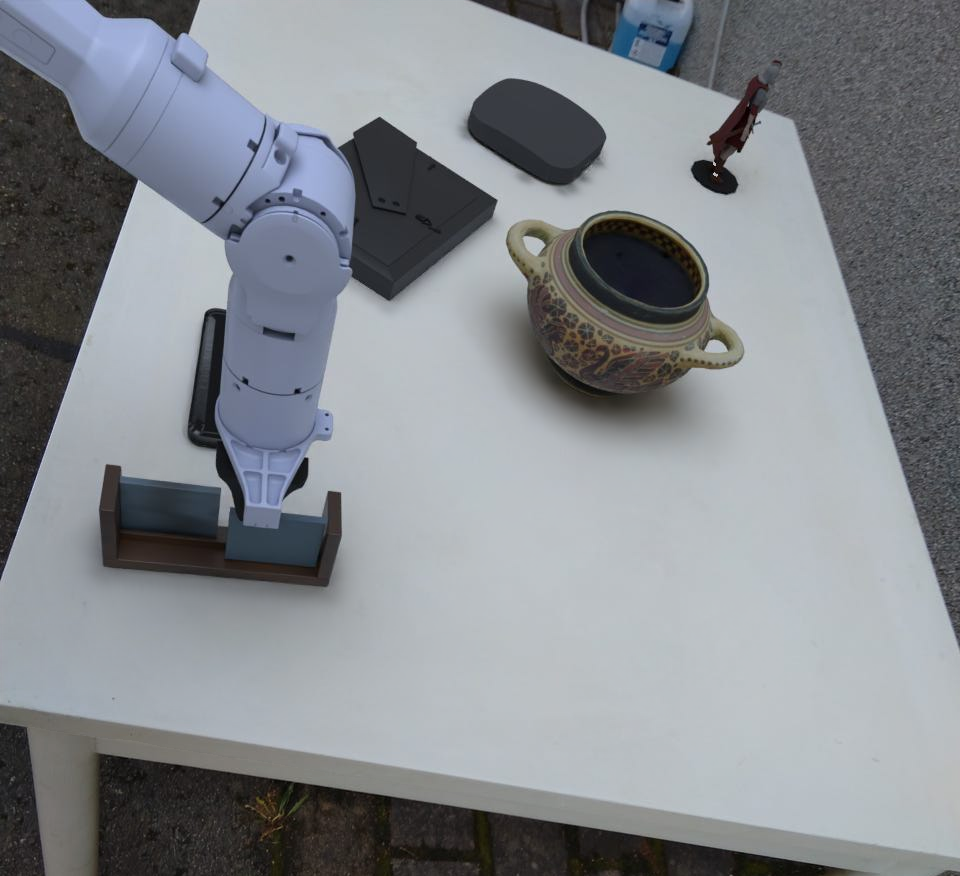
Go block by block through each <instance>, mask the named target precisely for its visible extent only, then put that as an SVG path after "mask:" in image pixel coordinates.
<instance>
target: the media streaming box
mask: <svg viewBox="0 0 960 876" xmlns="http://www.w3.org/2000/svg"><path fill="white" fill-rule="evenodd" d="M467 127H468V129H469V131H470V133H472V135H473V136H474V137H475V138H476V139H477V140H478V141H480V142H481V143H483V144H484V145H486V146H488V147H489V148H491V149H492V150H494V151H495V152H496V153H498V154H500V155H501V156H503V157H505V158H506V159H508V160H509V161H511V162H512V163H514V164H516V165H518V166H519V167H521V168H522V169H524V170H526V171H528V172H529V173H531V174H532V175H535V176H536V177H538V178H540V179H542V180H544V181H547V182H551V183H557V184H566V183H570V182H572V181H573V180H575V179H576V178H578V177H579V176H580V175H581V174H582V173H583V172H585V171H586V170H587V169H588V168H589V167H591V165H592V164H593V163H594V162H595V161H596V160H597V158H598V157H599V156H600V155H601V153H602V150H603V148H604V146H605V143H606V141H607V133H606V131H605V129H604V128H603V126H602V125H601V123H600V122H599V121H598V120H597V119H596V118H595V117H594V116H593V115H592V114H590V113H589V112H588V111H587V110H585V109H584V108H583V107H581V105H578V104H577V103H576V102H574V101H572V100H571V99H569V98H568V97H566V96H564V95H563V94H562V93H559V92H557V91H556V90H554V89H552V88H550V87H548V86H546V85H543V84H540V83H538V82H535V81H531V80H528V79H523V78H516V77H515V78H512V77H509V78H508V77H507V78H504V79H502V80H499V81H497V82H495V83H494V84H492V85H491V86H489V87H488V88H486V89H485V90H484V91H483V92H481V94H479V95H478V96H477V97H476V99H474V100H473V103H472V106H471V109H470V112H469V115H468V119H467Z"/></svg>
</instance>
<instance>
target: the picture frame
mask: <svg viewBox="0 0 960 876" xmlns="http://www.w3.org/2000/svg"><path fill="white" fill-rule="evenodd" d="M352 136H353V138H351V139H350V140H348V141H346V142H344V143H343V144H341V145H339V146H338V147H337V148H338V149H339V150H340V151H341V153H342V154H343V155H344V157H345V158H346V160H347V161H348V163H349V165H350V168H351V170H352V173H353V177H354V184H355V196H356V198H355V212H354V224H353V237H352V250H351V260H350V265H349V268H351V269H352V275H351V277H353V278H354V279H356V280H357V281H359V282H360V283H362V284H364V285H365V286H366V287H368V288H370V289H371V290H372V291H374V292H376V293H377V294H378V295H380V296H381V297H383V298H385V299H386V300H387V301H391V300H392V299H393V298H394V297H396V296H397V295H398V294H399V293H400V292H402V291H403V290H404V289H405V288H407V287H408V286H410V284H412V283H413V282H414V281H415V280H417V278H420V276H421V275H423V274H424V273H425V272H427V271H428V270H429V269H430V268H431V267H433V266H434V265H435V264H436V263H437V262H439V261H440V260H441V259H443V257H445V256H446V255H447V254H448V253H450V252H451V251H452V250H454V249H455V248H456V247H457V246H459V244H461V243H462V242H463V241H465V240H466V239H467V238H468V237H470V235H472V234H473V233H474V232H476V231H477V230H478V229H479V228H481V227H482V226H483V225H485V224H486V223H487V222H488V221H489V220H490V219H492V218H493V216H494V213H495V210H496V207H497V205H498V201H499V200H498V199H497V198H496V197H494V196H492V195H491V194H489V193H488V192H486V191H484V190H483V189H482V188H480V187H478V186H477V185H475V184H473V183H472V182H470V181H469V180H468V179H465V178H464V177H463V176H461V175H460V174H458V173H457V172H456V171H454V170H452V169H450V168H449V167H447V166H446V165H444V164H443V163H441V162H440V161H438V160H436V159H435V158H434V157H432V156H430V155H429V154H427V153H426V152H424V151H422V150H421V149H419V148H418V142H417V141H416V140H414V139H413V138H411V137H410V136H409V135H407V134H406V133H405V132H403V131H402V130H400V129H399V128H397V127H396V126H394V125H392V124H391V123H390V122H388V121H387V120H385V118H382V117H381V116H378V117H376V118H375V119H373V120H371V121H370V122H368V123H366V124H364V125H362V126H361V127H360V128H357V129H356V130H355V131H353V132H352Z"/></svg>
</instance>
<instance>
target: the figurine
mask: <svg viewBox="0 0 960 876" xmlns="http://www.w3.org/2000/svg"><path fill="white" fill-rule="evenodd" d="M782 67H783V63H782V62H781V60H779V59H774V60H773V61H772V62H771V64H770V65H768V66H767V67H766V70H765V71H764V73H763V74H762V73H761V74H757V75H755V76H753V77H752V78H751V80H749V82H748V83H747V86H746V90H745V92H744V96H743V97H742V99H741V100H740V101H739V102H738V104H736V106H735V107H734V109H733V110H732V111H731V113H729V116H728V117H727V118H726V119H725V120H724V122H723V123H722V125H720V127H719V128H718V130H716V131H715V132H713V133H711V134H710V135H709V136H708V138H709V140H707V142H706V144H705V145H706V146H711V147H712V154H713V157H714V158H713V161H714V162H715V163H716V166H714V165H713V161H712V160H707V159H699V160H695V161H694V162H693V163H692V165H691V168H690V171H691V173H692V176H693V178H694V179H695V180H696V181H697V182H698V183H699V184H700V185H701V186H702V187H704V188H706V189H708V190H710V191H712V192H713V193H716V194H721V195H727V196H728V195H731V194H734V193H736V192H737V189H738V187H739V183H738V180H737V178H736V176H735V175H734V174H733V173H732V171H730V170H729V169H728V168H727V167H725V165H726V163H727V160H728V159H729V157H731V156H733V155H734V154H735V152H736V153H737V154H741V152H742V151H743V149H744V147H745V145H746V143H747V141H748V139H750V135H754V133H755V132H754V127H755V126H758V125H761V124H762V121H761V120H758V121H756V120H757V117H758V115H759V114H760V113H761V112H762V111H763V110H764V108H765V107H766V105H767V104H768V101H769V99H770V98H771V89H770V87H773V86H774V85H775V83H776V79H777V78H778V77H779V75H780V73H781V71H780V70H781V69H782ZM769 86H770V87H769ZM714 172H715V173H716V174H718V176H717V177H716V176H714V175H713V173H714Z"/></svg>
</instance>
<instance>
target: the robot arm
mask: <svg viewBox="0 0 960 876" xmlns="http://www.w3.org/2000/svg"><path fill="white" fill-rule="evenodd" d="M0 51H1V52H2V53H3V54H5V55H7V56H9V57H10V58H12V59H13V60H15V61H16V62H18V63H19V64H20V65H22V66H23V67H25V68H27V69H28V70H30V71H32V72H33V73H34V74H36V75H37V76H39V77H40V78H41V79H44V80H45V81H47V82H48V83H50V84H51V85H53V86H54V87H56V88H57V89H58V90H61V91H62V93H63V94H64V95H65V98H66V99H67V102H68V105H69V107H70V110H71V112H72V113H71V114H72V115H73V117H74V120H75V123H76V126H77V128H78V131H79V134H80V136H81V138H82V139H83V141H84V142H85V143H87V144H88V145H89V146H91V147H92V148H94V149H95V150H96V151H98V152H99V153H101V154H102V155H103V156H105V157H106V158H108V159H109V160H110V161H112V162H113V163H115V164H116V165H117V166H119V167H120V168H121V169H123V170H124V171H125V172H127V173H128V174H130V175H131V176H133V177H134V178H136V179H137V180H138V181H140V182H141V183H143V184H144V185H145V186H147V187H148V188H149V189H151V190H152V191H154V192H155V193H156V194H158V195H160V196H161V197H162V198H164V199H165V200H166V201H167V202H169V203H171V204H172V205H173V206H174V207H176V208H177V209H178V210H180V211H181V212H183V213H184V214H186V215H187V216H188V217H189V218H191V219H192V220H193V221H195V222H196V223H198V224H199V225H201V226H203V227H204V228H205V229H206V230H208V231H209V232H211V233H212V234H214V235H215V236H217V237H218V238H219V239H221V240H223V241H224V251H225V252H224V253H225V257H226V258H225V259H226V262H227V264H228V267H229V268H230V270H231V272H232V274H231V277H230V279H229V283H228V288H227V301H226V310H227V312H226V325H225V337H224V349H223V361H222V374H221V387H220V395H219V397H218V399H217V401H216V406H215V422H216V426H217V429H218V431H219V434H220V436H221V439H222V441H219V440H218V441H217V448H215V449H216V450H215V462H214V463H215V464H214V465H215V470H216V473H217V476H218V478H219V479H220V480H222V481H223V482H224V483H225V484H226V485H227V487H228V489H229V491H230V493H231V497H232V501H233V507H235V511H236V514H237V517H238V519H239V520H240V521H243V525H245V526H255V527H261V528H273V529H278V526H279V520H280V515H281V513H282V509H283V507H282V506H283V502H284V500H285V499H286V498H287V497H288V496H289V495H291V494H292V493H293V492H295V491H297V490H299V489H303V487H304V486H305V485H306V483H307V481H308V477H309V464H310V463H309V462H310V461H309V459H310V458H309V457H307V456H306V455H307V454H308V452H309V449H310V447H311V446H312V444H313V443H315V442H316V441H321V442H328V441H330V440H331V439H332V437H333V433H334V415H333V413H332V412H330V411H329V410H327V409H323V408H318V407H319V402H320V399H321V393H322V388H323V382H324V377H325V374H326V373H325V372H326V368H327V364H328V359H329V354H330V348H331V345H332V344H331V343H332V338H333V333H334V329H335V324H336V319H337V314H338V298H337V297H338V296H339V295H340V294H341V293H342V292H343V291H344V290H345V288H346V287H347V285H348V284H349V282H350V280H351V279H352V276H351V275H352V269H351V268H349V265H350V260H351V250H352V237H353V224H354V212H355V198H356V196H355V184H354V177H353V173H352V170H351V168H350V165H349V163H348V161H347V160H346V158H345V157H344V155H343V154H342V153H341V151H340V150H339V149H338V147H337V146H336V145H335V144H334V142H333V140H332V139H331V137H330V136H329V135H328V133H325V132H324V131H322V130H320V129H318V128H316V127H312V126H309V125H306V124H301V123H291V122H289V123H288V122H287V123H286V122H285V121H279V120H277V119H275V118H274V117H272V116H271V115H269V114H268V113H265V114H264V112H263V111H261V110H260V109H259V108H258V107H256V106H255V105H254V104H253V103H252V102H250V101H249V100H248V99H247V98H245V97H244V95H242V94H241V93H240V92H238V91H237V90H236V89H235V88H234V87H232V86H231V85H230V84H229V83H228V82H226V81H225V80H224V79H222V78H221V76H219V75H218V74H217V73H215V72H214V71H213V70H212V69H211V68H210V67H209V66H207V62H208V59H209V52H208V51H207V50H206V49H205V48H204V47H203V46H202V45H200V44H199V43H198V42H197V41H196V40H195V39H193V37H191V36H190V35H189V34H187V33H186V32H182V33H180V35H178V37H177V38H176V39H175V38H174V37H173V36H171V34H169V33H168V32H167V31H165V30H164V29H163V28H162V27H161V26H159V25H158V24H157V23H156V22H155V21H153V20H152V19H150V18H144V17H143V18H142V17H138V18H137V17H136V18H135V17H133V18H132V17H131V18H129V17H127V18H120V17H119V18H114V17H113V18H111V17H107V16H104V15H102V14H101V13H100V12H99V11H97V9H96V8H95V7H93V6H92V5H91V4H90V3H89V2H88V1H87V0H0Z"/></svg>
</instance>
